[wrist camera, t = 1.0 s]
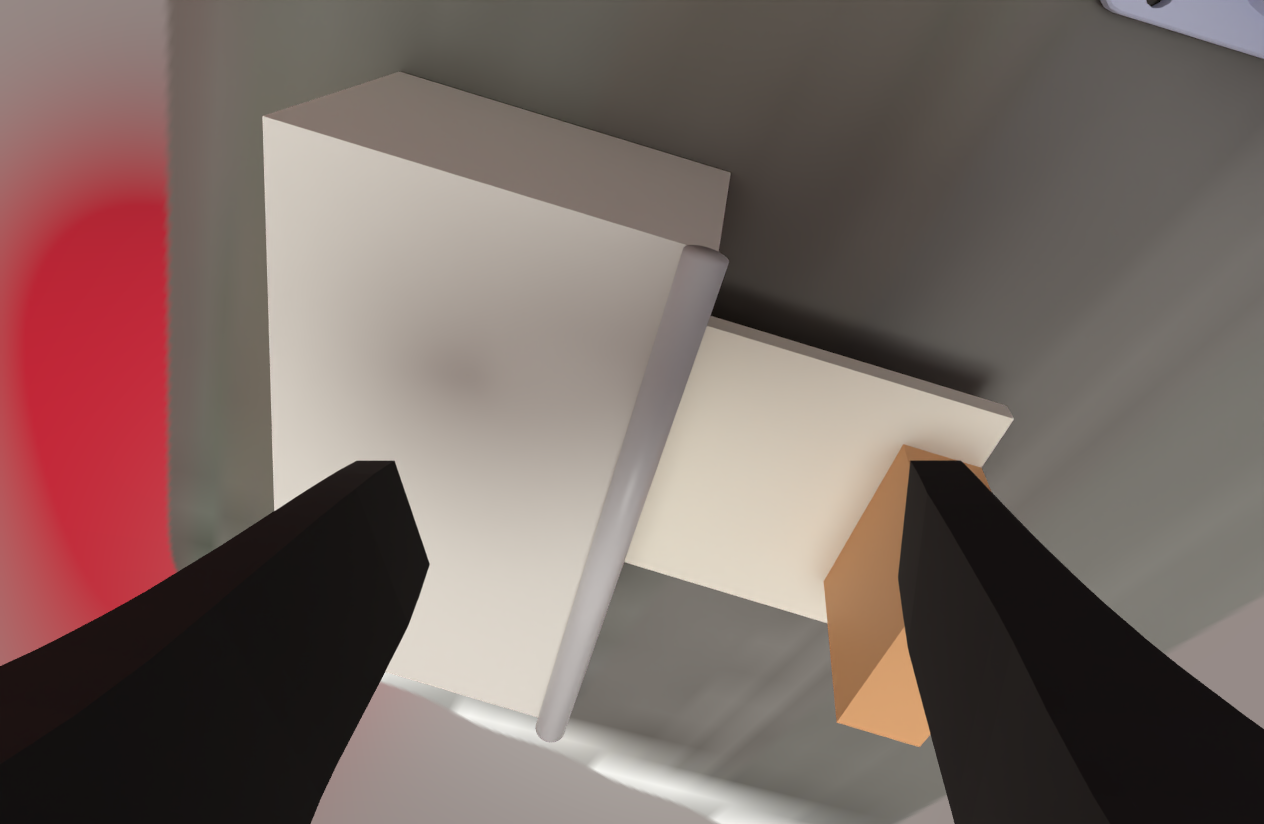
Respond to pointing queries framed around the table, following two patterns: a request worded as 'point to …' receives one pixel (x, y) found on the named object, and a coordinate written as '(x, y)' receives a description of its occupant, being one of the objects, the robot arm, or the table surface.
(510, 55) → the table surface
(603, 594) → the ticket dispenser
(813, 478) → the cream slab with block
